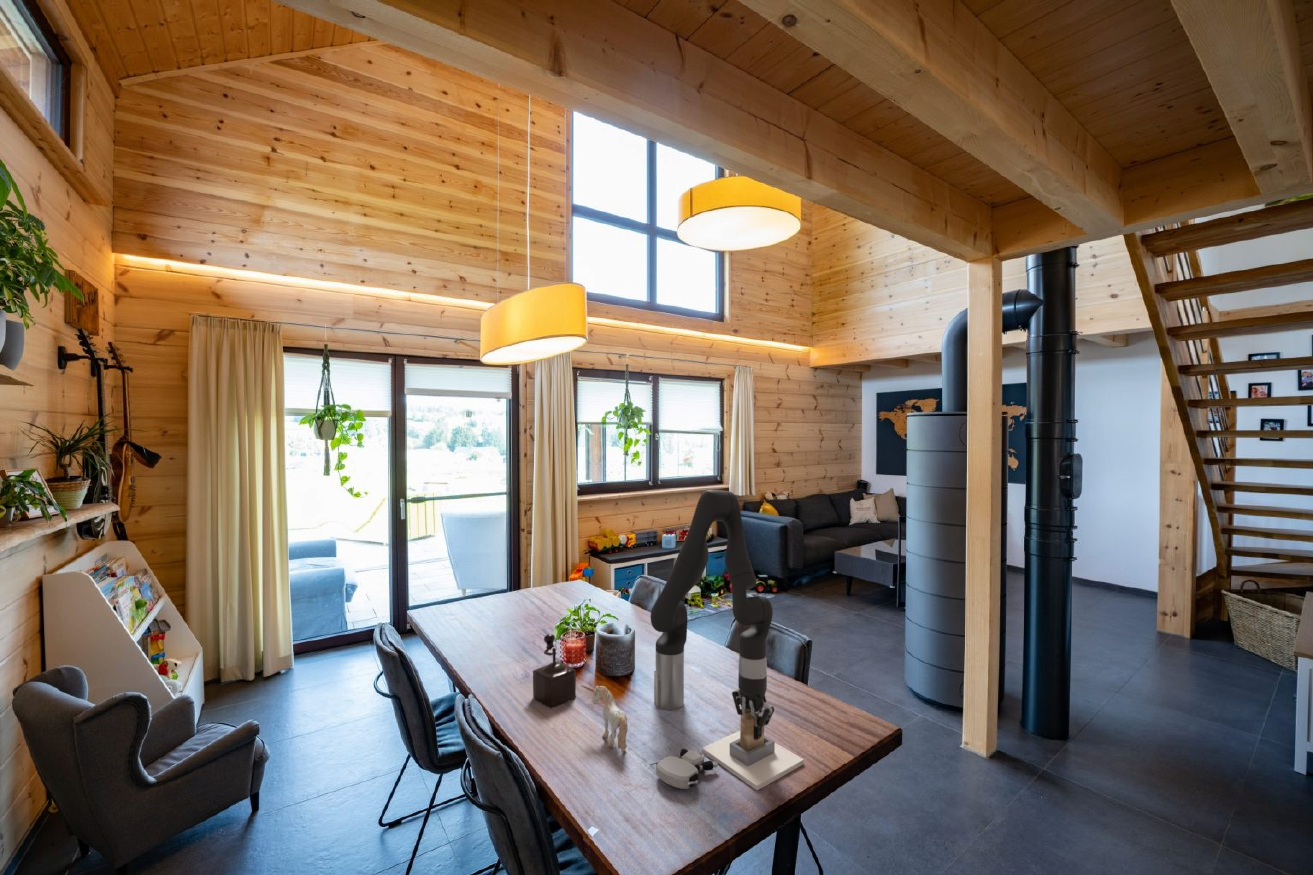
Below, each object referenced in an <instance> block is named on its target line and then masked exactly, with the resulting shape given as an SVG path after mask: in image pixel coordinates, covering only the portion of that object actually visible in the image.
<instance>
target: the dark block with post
mask: <svg viewBox="0 0 1313 875" xmlns="http://www.w3.org/2000/svg"><path fill="white" fill-rule="evenodd" d="M555 640H556V636H555V635H554V634H553V633H547V634H546V635H545V636H543V641H544V642H545V644H546V648H545V649H544V651H543V654H544V655H545V656H552V662H550V663H549V664H546V665H544V666H541V667H538V668H536V669H534V670H533V671H532V692H533V693H532V696H533V697H532V698H533V699H534V700H535V701H537V702H538V703H540V704H541V705H543V706H545V707H547V708H549V709H553V708H555V707H558V706H561V705H563V704H565V703H568V702H570V701H572V700H574V699H576V698H577V696H576V695H577V694H576V692H577V691H576V688H577V687H576V686H577V682H576V681H577V677H576V674H577V671H576V669H575V668H573V667H571V666H569V664H568V663H565V662H564V660H563V659H562V660H561V662H560V661H559V660H558V661H556V658H557V657H556V655H557V649H556V647H555V645H554V641H555ZM551 650H552V652H549V651H551Z"/></svg>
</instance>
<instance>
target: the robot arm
mask: <svg viewBox="0 0 1313 875" xmlns="http://www.w3.org/2000/svg"><path fill="white" fill-rule="evenodd" d="M714 522H723V524H724V527H725V529H726V533H727V542H726V549H725V554H724V564H725V568H726V572H727V575H728V579H729V581H730V585H731V586H730V587H731V597H732V598H731V599H732V602H731V603H732V604H731V605H732V614H733V617H734V620H735V621H736V622H737V623H738V624H739V625H741V626H743V627H744V626H745V627H746V626H747V627H748V626H750V625H751V627H749V628H748V629H746V630H744V631H743V632H741V633H740V636H739V654H738V655H739V656H738V657H739V658H738V674H737V675H738V682H737V683H738V685H737V686H738V689H736V690H733V691H732V692H731V695H732V698H733V699H732V700H733V703H734V707H735V709H736V714H737V715H739V716H740V717H741V716H742V715H744V714H747V713H749V712H751V716H752V717H753V722H754V739H755V740H758V739H760V738H761V736H762V727H763V726H764V727H765V726H767V725H769V724H770V721H771V719H772V716H773V715H774V712H775V708H774V706H772V705H771V706H770V705H769V704H768V703H767V698H766V692H767V689H768V688H767V687H768V676H767V675H768V665H767V638H768V635H769V631H770V627H771V624H772V621H773V614H774V612H773V611H774V610H773V606H772V603H771V601H770V600H769V598H768V597H766V596H764V595H756V596H749V597H747V591H749V590H751V589H753V588H754V587H755V586H757V578H756V575H755V572H754V568H753V566H752V562H751V559H750V557H749V553H748V549H747V543H746V539H745V531H744V525H743V519H742V514H741V508H740V503H739V500H738V498H737V496H736V494H735V493H734V492H731V491H729V490H721V489H707V490H704V492H702V494H701V495H700V497H699V499H698V501H697V504H696V507H695V510H694V513H693V517H692V520H691V523H690V526H689V528H688V531H687V534H686V536H685V539H684V541H683V544H682V546H681V548H680V550H679V552H678V554H677V557H676V559H675V561H674V564H673V566H672V570H671V571H670V574H669V576H668V578H667V580H666V582H665V584H664V587H663V589H662V591H661V592H660V594H659V595H658V598H657V599H656V601H655V602H654V604H653V606H652V608H651V611H650V624H651V627H652V628H653V629H654V631H657V632H659V633H661V635H660V636H659V637H658V638H657V639H656V641H655V670H654V673H653V701H654V703H655V707H656V709H662V710H666V711H667V710H668V711H670V710H671V711H673V710H678V709H680V708H682V707H683V706H684V702H685V682H684V681H685V645H686V642H687V636H688V622H689V621H688V611H687V610H688V609H687V607H686V605H685V603H684V602H683V601H682V600H684V598H685V596H687V594H688V593H689V592H690V591H691V590H692V589H693V588H694V587H695V585H697V583H698V582H699V581H700V579H701V577H702V575H703V574H704V572H705V569H706V567H707V564H708V562H709V558H710V557H709V556H710V554H709V548H708V542H707V536H708V533H709V531H710V529H711V526H712V524H713V523H714ZM758 719H759V720H758Z"/></svg>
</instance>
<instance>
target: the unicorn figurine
mask: <svg viewBox="0 0 1313 875" xmlns="http://www.w3.org/2000/svg"><path fill="white" fill-rule="evenodd" d="M580 687H582V688H584V689H586V690H588V691H590V692H592V693H593V696H592V700H591V701H592V703H593V705H596V704H598V702H599V699H601V698H602V699H603V702H604V705H603V709H602V715H603V719H604V720H603V721H604V733H603V735H602V738H603V739H605V738H606V740H608V739H609V740H608V748H610V749H612V748H613V747H614V740H615V739H616V734H617V749H618V750H621V751H623V752H625V751H626V750H627V749H626V748H627V746H628V744H627V742H626V741H627V740H626V739H627V733H628V725H629V724H628V716H627V714H626V713H625V712H624V711H623V710H621V709H620V708H618V706H617V701H616V700H615V697H614V694H613V693H612V692H611V691H610V690H609V689H608V688H607V687H606V686H604V685H595V688H591V687H588V686H585V685H583V684H580ZM609 723H610V727H611V737H610V738H609V734H610V731H609V730H608V726H609ZM617 729H618V730H619V731H618V733H617Z"/></svg>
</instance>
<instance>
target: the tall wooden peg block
mask: <svg viewBox="0 0 1313 875" xmlns="http://www.w3.org/2000/svg"><path fill="white" fill-rule="evenodd" d="M758 720H759V719H758ZM739 731H740V747H741V748H742V749H744V750H746V751H747V752H748V751H750V750H752V749H754V748H756V747H758V746H760V745H762V744H764V736H765V726H763V727H762V736H761V738H760V739H758V740H755V739H754V722H753V717H752V716H751V712H749V713H747V714H744V715H742V716H741V715H740V727H739Z"/></svg>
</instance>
